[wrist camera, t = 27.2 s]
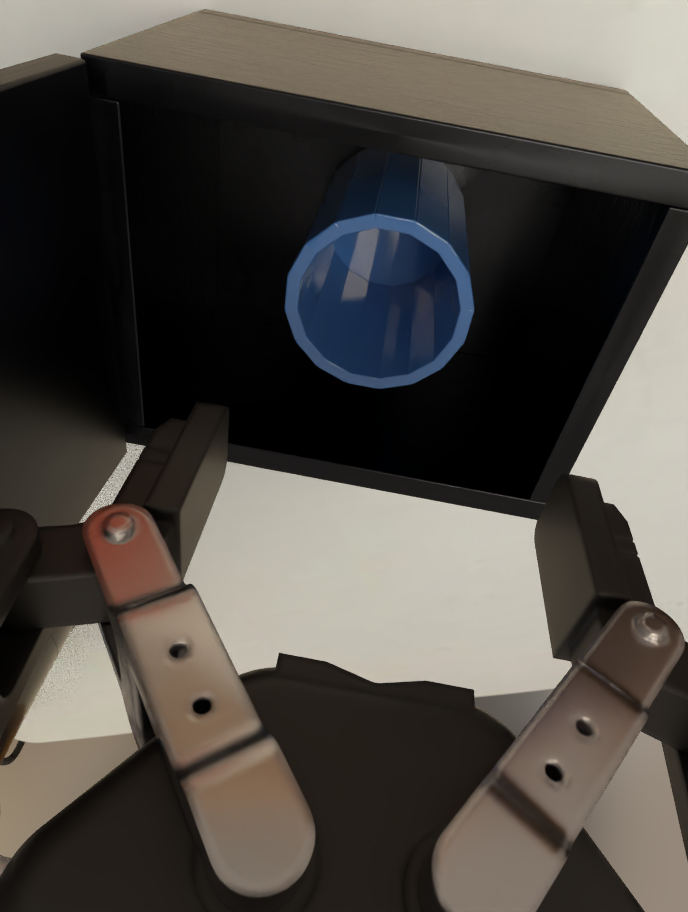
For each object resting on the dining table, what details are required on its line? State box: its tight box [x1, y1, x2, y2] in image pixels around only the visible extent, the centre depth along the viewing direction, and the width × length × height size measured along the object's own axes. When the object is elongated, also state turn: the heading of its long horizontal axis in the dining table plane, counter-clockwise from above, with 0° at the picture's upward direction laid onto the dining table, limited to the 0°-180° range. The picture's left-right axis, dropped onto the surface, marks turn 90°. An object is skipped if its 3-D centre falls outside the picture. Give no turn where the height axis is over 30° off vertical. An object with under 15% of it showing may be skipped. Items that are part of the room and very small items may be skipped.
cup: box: [284, 148, 475, 389], centre depth 23 cm, size 6×6×8 cm
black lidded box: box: [81, 9, 688, 520], centre depth 23 cm, size 16×12×10 cm
